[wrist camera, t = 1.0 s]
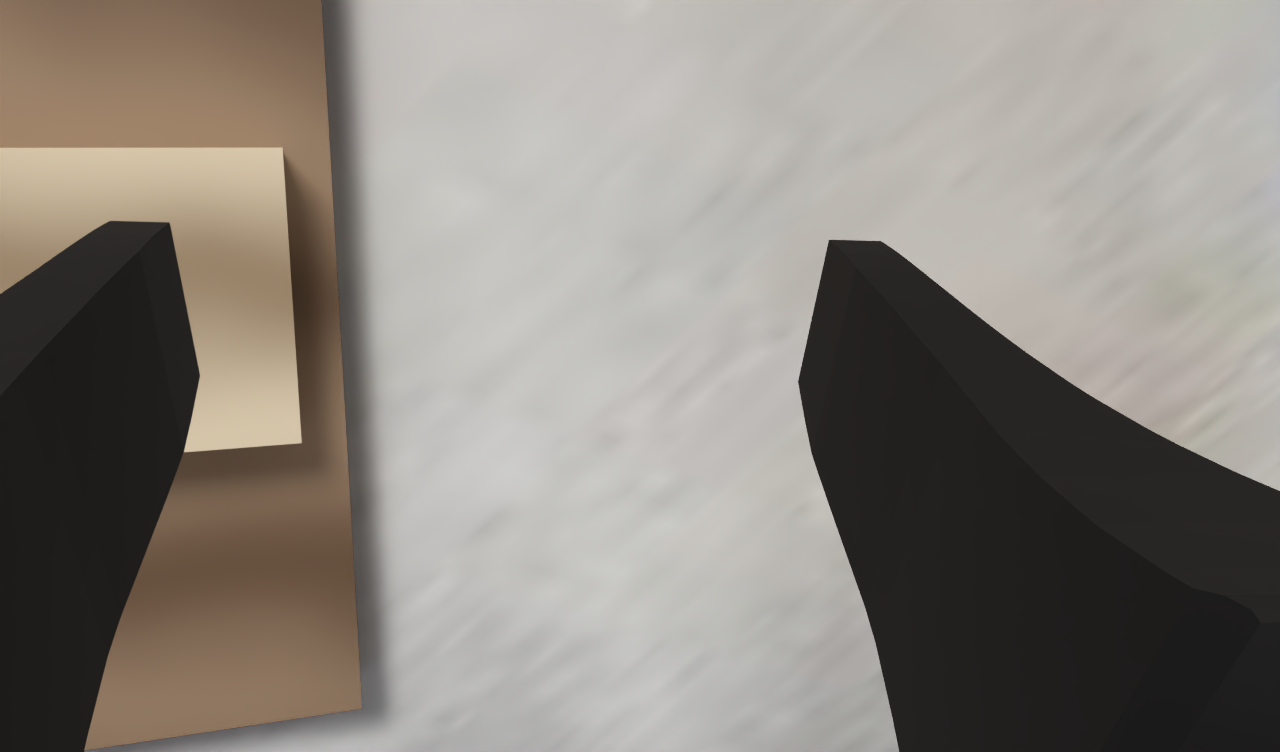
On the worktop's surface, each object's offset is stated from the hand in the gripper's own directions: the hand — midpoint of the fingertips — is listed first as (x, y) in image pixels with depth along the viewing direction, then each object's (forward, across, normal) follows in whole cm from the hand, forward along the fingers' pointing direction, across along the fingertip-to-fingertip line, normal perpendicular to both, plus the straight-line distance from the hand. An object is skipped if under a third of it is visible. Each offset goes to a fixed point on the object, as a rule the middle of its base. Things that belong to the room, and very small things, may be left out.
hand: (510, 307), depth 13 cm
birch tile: (+10, +9, +7) cm, 15 cm away
